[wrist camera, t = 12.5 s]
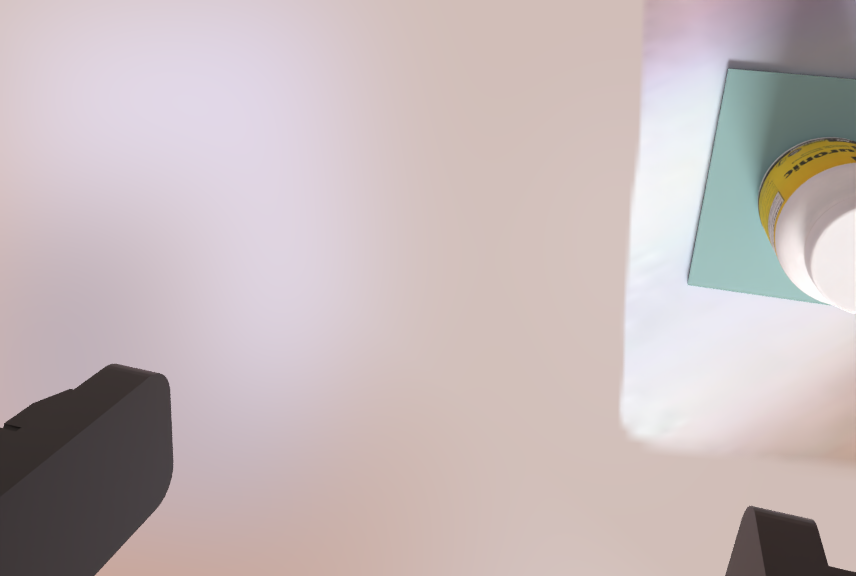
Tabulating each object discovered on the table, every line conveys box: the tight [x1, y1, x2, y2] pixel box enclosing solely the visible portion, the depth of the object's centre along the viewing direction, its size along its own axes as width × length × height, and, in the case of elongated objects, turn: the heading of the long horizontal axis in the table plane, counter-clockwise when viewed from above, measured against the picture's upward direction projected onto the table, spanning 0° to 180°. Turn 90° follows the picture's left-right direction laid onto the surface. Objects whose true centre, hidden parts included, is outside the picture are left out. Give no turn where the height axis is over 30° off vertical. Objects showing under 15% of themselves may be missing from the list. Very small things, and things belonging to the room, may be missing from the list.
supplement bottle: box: [758, 137, 856, 314], centre depth 31 cm, size 5×5×10 cm
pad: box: [688, 68, 856, 306], centre depth 36 cm, size 10×8×1 cm
